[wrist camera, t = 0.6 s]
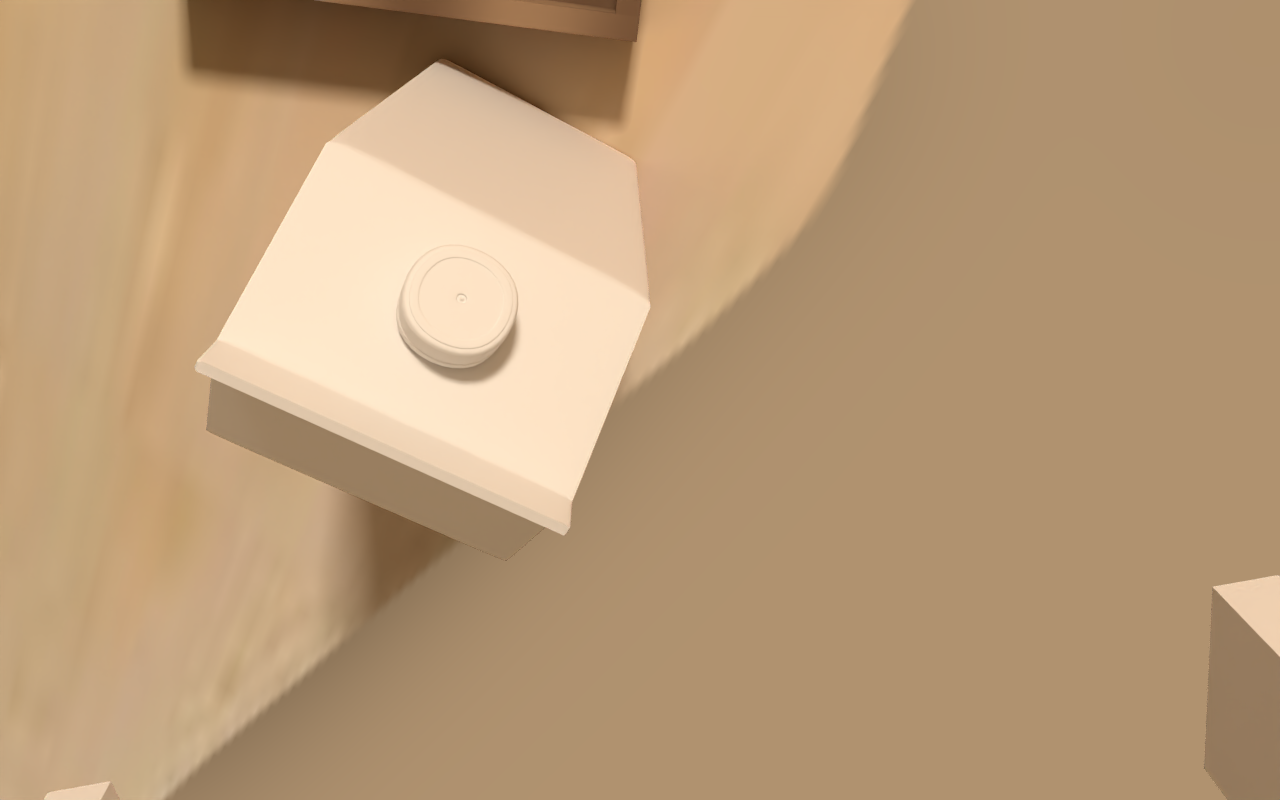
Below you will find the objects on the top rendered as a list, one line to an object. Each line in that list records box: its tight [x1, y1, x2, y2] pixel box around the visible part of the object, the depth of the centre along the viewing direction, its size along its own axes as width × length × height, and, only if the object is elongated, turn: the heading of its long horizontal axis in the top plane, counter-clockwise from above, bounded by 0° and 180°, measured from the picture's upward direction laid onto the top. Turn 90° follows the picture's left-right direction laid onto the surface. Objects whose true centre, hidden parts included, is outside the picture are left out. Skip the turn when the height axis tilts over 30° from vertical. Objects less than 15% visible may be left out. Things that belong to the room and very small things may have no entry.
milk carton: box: [195, 59, 650, 561], centre depth 28 cm, size 7×7×19 cm
